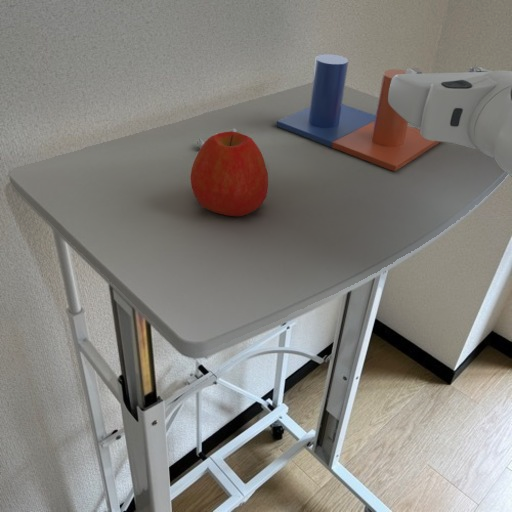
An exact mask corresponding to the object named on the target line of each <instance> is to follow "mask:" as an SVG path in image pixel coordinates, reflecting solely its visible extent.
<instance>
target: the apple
mask: <svg viewBox="0 0 512 512" xmlns="http://www.w3.org/2000/svg"><path fill="white" fill-rule="evenodd" d="M215 134H216V133H215ZM268 173H269V172H268V169H267V166H266V161H265V159H264V155H263V153H262V151H261V150H260V148H259V146H258V145H257V143H256V142H255V141H254V139H253V138H252V137H250V136H249V135H246V134H243V133H240V132H238V131H237V132H231V130H229V131H223V132H219V133H218V134H216V135H214V134H213V135H211V136H209V137H208V138H207V139H206V141H205V142H204V144H203V146H202V147H201V149H200V148H199V150H198V152H197V154H196V156H195V158H194V161H193V163H192V166H191V170H190V175H189V177H190V187H191V190H192V192H193V195H194V197H195V199H196V200H197V202H198V204H199V205H201V207H202V208H204V209H206V210H209V211H210V212H213V213H216V214H220V215H224V216H229V217H241V216H247V215H249V214H250V213H253V212H255V211H256V210H257V209H259V208H260V207H261V206H262V205H263V204H264V202H265V200H266V198H267V196H268V191H269V174H268Z"/></svg>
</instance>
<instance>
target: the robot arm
mask: <svg viewBox="0 0 512 512" xmlns="http://www.w3.org/2000/svg"><path fill="white" fill-rule="evenodd" d="M405 70H406V73H405V74H397V75H395V76H394V77H393V78H392V80H391V84H390V88H389V94H388V103H389V105H390V106H391V107H392V108H393V109H394V110H395V111H396V112H397V113H398V114H399V115H400V116H401V117H402V118H403V119H405V120H406V121H407V122H409V123H408V124H410V125H412V126H414V127H418V128H420V129H419V130H420V135H421V136H422V137H423V138H425V139H427V140H431V141H439V142H440V143H448V144H455V145H459V146H463V147H466V148H469V149H474V150H477V149H478V150H479V152H481V153H482V154H484V155H485V156H487V157H489V158H491V159H495V162H496V164H497V165H498V166H499V168H501V169H502V171H504V172H505V173H506V174H507V175H508V176H510V177H511V178H512V70H504V69H499V70H498V69H497V70H489V69H485V68H484V67H482V66H470V67H469V68H468V72H465V71H464V72H431V73H428V72H427V73H426V72H425V73H423V71H421V70H420V69H419V68H406V69H405Z"/></svg>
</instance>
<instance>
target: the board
mask: <svg viewBox="0 0 512 512" xmlns="http://www.w3.org/2000/svg"><path fill="white" fill-rule="evenodd" d="M309 111H310V106H309V107H307V108H304V109H302V110H299V111H297V112H295V113H292V114H290V115H287V116H286V117H283V118H281V119H278V120H276V127H278V128H280V129H283V130H286V131H288V132H291V133H294V134H296V135H299V136H301V137H304V138H307V139H309V140H312V141H314V142H317V143H320V144H323V145H324V146H327V147H330V148H333V149H335V150H338V151H341V152H343V153H345V154H348V155H351V156H353V157H356V158H359V159H360V160H363V161H366V162H368V163H371V164H375V165H376V166H379V167H382V168H384V169H387V170H390V171H392V172H396V171H398V170H400V169H401V168H403V167H404V166H406V165H408V164H409V163H411V162H412V161H413V160H415V159H416V158H418V157H420V156H421V155H423V154H425V153H426V152H427V151H429V150H431V149H432V148H433V147H436V146H437V145H438V144H440V143H441V142H439V141H431V140H427V139H425V138H423V137H422V136H421V135H420V129H418V128H415V127H413V126H409V125H408V127H407V132H406V136H405V140H404V143H403V144H402V145H400V146H384V145H380V144H378V143H376V142H374V141H373V140H372V132H373V126H374V121H375V116H376V114H373V113H370V112H367V111H364V110H361V109H358V108H355V107H352V106H350V105H346V104H343V103H342V108H341V115H340V122H339V125H338V126H336V127H332V128H322V127H317V126H314V125H312V124H310V123H309Z"/></svg>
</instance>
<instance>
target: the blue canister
mask: <svg viewBox="0 0 512 512" xmlns="http://www.w3.org/2000/svg"><path fill="white" fill-rule="evenodd" d="M348 66H349V59H348V58H347V57H345V56H342V55H339V54H338V55H337V54H331V53H330V54H326V53H324V54H319V55H317V56H315V58H314V68H313V78H312V86H311V94H310V104H309V107H310V111H309V123H310V124H312V125H314V126H317V127H322V128H332V127H336V126H338V125H339V122H340V115H341V108H342V104H343V100H344V94H345V93H344V92H345V86H346V79H347V74H348Z"/></svg>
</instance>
